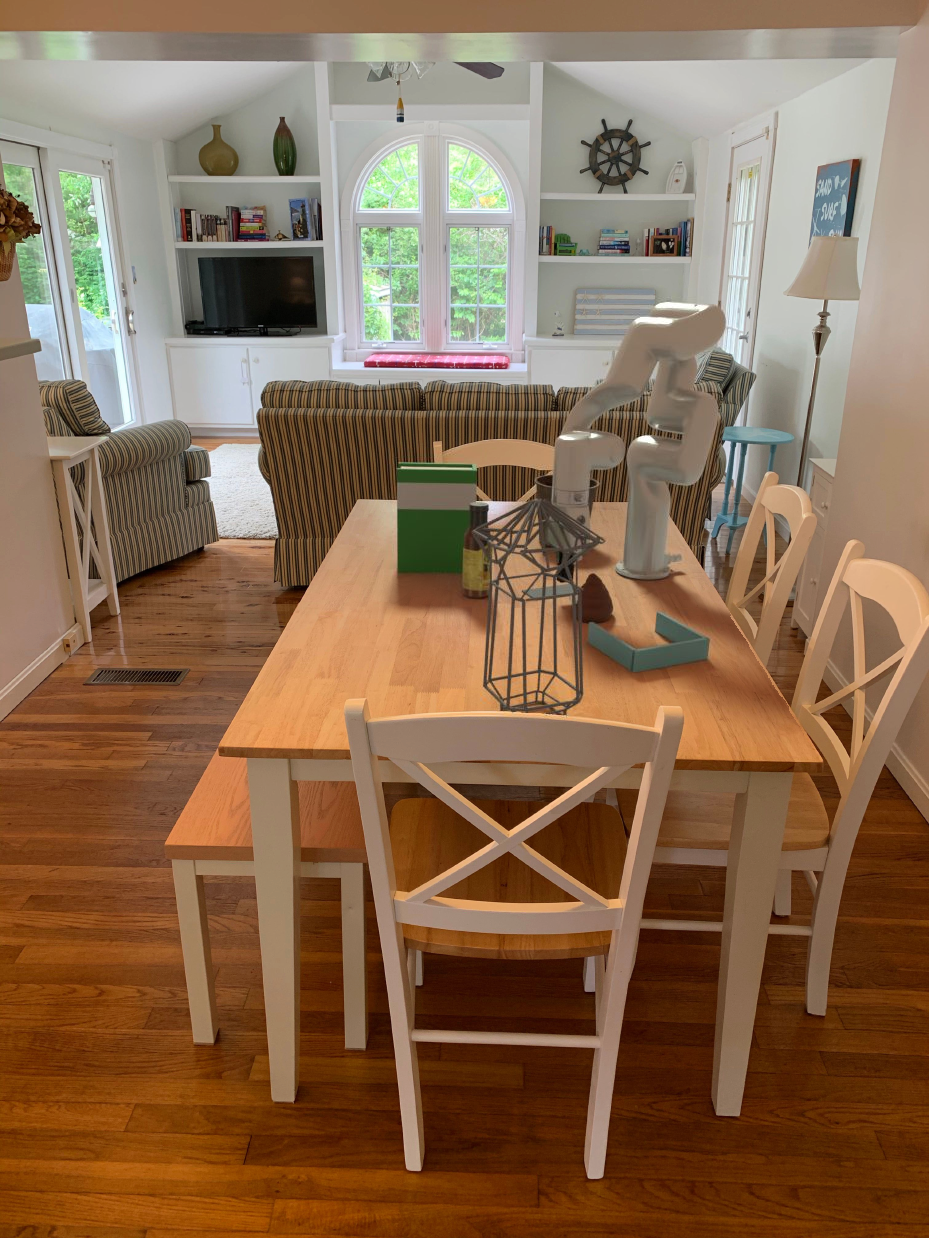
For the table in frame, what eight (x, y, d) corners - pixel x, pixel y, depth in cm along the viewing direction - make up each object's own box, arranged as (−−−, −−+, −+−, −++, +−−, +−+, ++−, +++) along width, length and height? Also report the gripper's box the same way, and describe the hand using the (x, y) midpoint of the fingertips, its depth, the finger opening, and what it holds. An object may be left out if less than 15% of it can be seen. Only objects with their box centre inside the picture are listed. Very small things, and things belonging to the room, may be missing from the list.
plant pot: (605, 541, 243) (610, 479, 237) (578, 555, 230) (582, 491, 224) (549, 531, 251) (553, 471, 245) (520, 544, 238) (523, 482, 232)
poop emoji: (606, 626, 185) (610, 582, 182) (564, 620, 188) (567, 576, 185) (616, 610, 194) (620, 567, 191) (576, 605, 197) (579, 562, 194)
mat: (569, 585, 209) (569, 583, 209) (583, 593, 204) (583, 592, 203) (521, 591, 204) (521, 590, 204) (535, 600, 199) (535, 598, 199)
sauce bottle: (488, 600, 198) (491, 509, 191) (459, 597, 199) (461, 506, 192) (493, 590, 204) (496, 501, 197) (465, 588, 205) (467, 499, 198)
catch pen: (658, 630, 184) (660, 611, 182) (707, 659, 171) (710, 638, 169) (587, 642, 177) (589, 622, 176) (633, 672, 164) (635, 651, 163)
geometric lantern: (510, 747, 138) (513, 516, 126) (467, 705, 152) (467, 493, 140) (601, 728, 144) (613, 505, 132) (552, 689, 158) (559, 484, 146)
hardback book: (397, 572, 214) (396, 469, 206) (398, 563, 221) (398, 462, 213) (474, 573, 215) (476, 470, 206) (473, 564, 222) (475, 463, 213)
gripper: (605, 503, 187) (598, 589, 193) (567, 487, 199) (562, 569, 206) (572, 506, 184) (567, 594, 190) (536, 489, 197) (532, 572, 203)
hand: (564, 580), depth 198 cm, fingers closed
